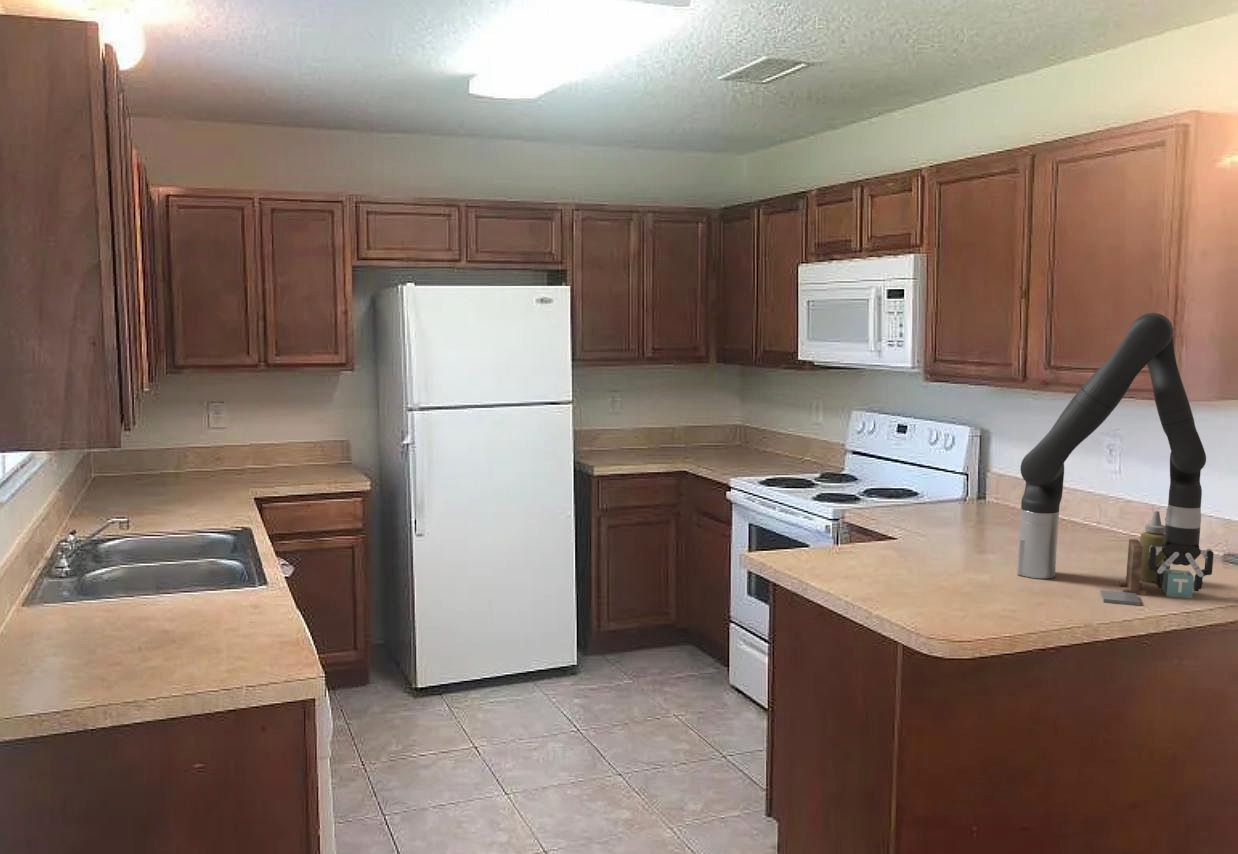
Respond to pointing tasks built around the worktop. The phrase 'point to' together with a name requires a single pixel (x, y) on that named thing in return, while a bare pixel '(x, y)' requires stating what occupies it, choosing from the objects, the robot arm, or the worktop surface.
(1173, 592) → the cube
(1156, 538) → the squeeze bottle
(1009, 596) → the worktop surface
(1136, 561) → the screen
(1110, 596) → the coaster
